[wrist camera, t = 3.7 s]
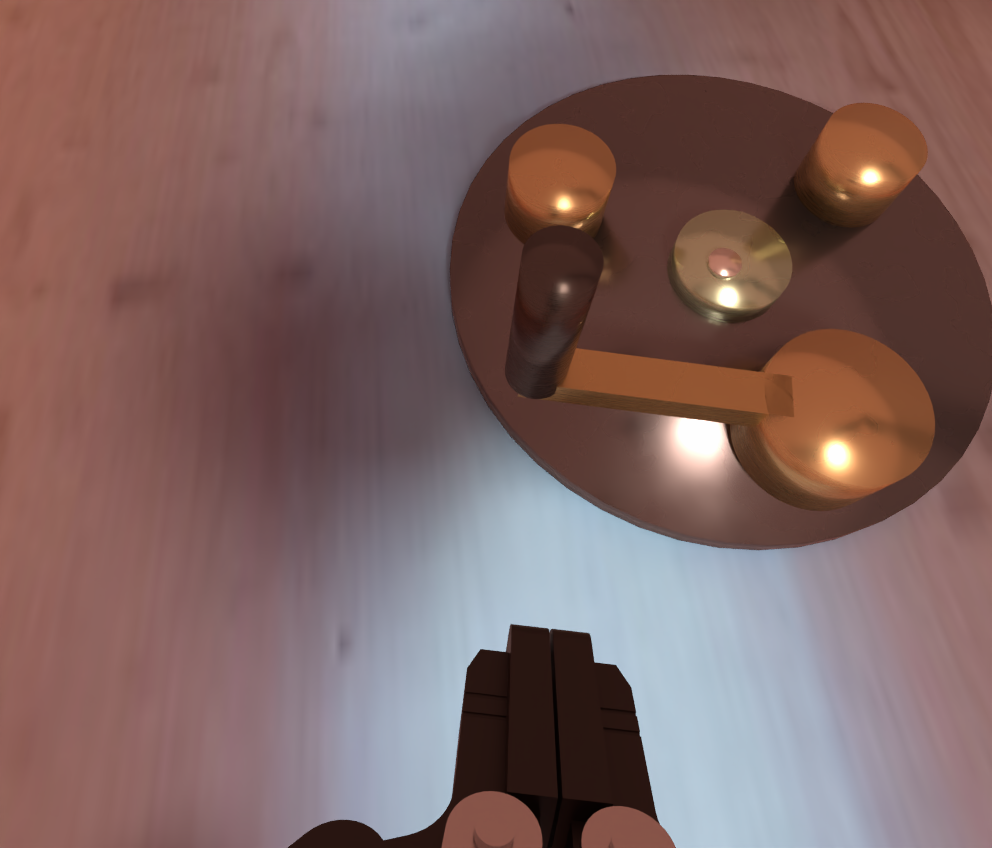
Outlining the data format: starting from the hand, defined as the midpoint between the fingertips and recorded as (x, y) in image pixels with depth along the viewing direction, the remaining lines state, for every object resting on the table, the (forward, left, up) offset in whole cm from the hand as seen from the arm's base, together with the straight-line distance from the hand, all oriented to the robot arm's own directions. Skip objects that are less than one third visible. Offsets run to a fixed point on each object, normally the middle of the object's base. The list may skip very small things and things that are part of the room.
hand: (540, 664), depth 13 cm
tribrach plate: (-12, -15, -12) cm, 23 cm away
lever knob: (-9, -8, -10) cm, 16 cm away
